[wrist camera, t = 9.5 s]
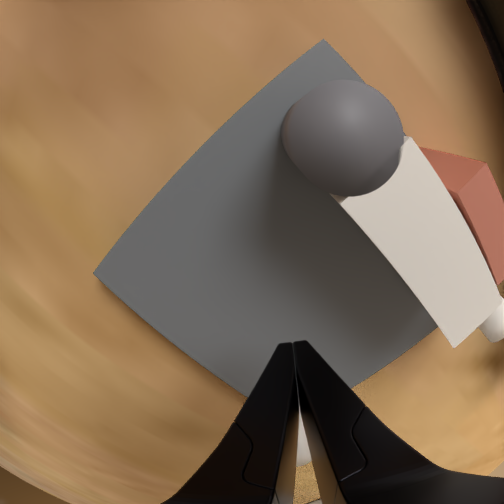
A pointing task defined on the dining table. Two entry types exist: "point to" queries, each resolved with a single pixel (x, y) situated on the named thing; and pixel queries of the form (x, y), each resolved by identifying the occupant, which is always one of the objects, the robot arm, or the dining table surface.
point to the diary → (491, 29)
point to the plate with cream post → (282, 251)
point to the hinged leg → (392, 199)
